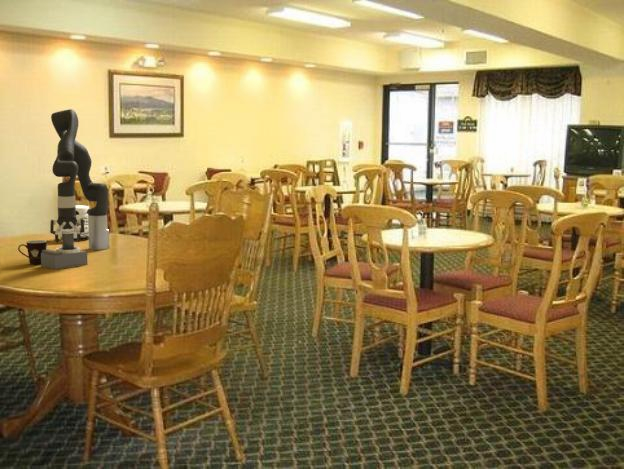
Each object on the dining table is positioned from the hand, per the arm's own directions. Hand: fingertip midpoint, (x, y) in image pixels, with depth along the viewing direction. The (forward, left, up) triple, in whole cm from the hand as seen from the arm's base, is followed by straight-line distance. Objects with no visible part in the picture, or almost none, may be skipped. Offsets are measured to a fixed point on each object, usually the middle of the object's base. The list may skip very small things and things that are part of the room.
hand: (67, 242), depth 316 cm
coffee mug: (+8, -14, -10) cm, 19 cm away
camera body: (+2, 0, -10) cm, 10 cm away
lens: (0, 0, -4) cm, 4 cm away
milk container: (-45, -62, -10) cm, 77 cm away
